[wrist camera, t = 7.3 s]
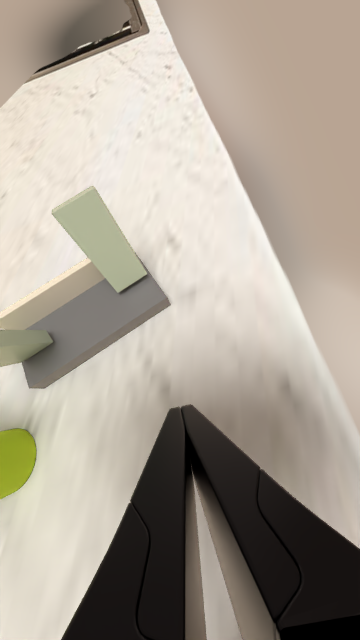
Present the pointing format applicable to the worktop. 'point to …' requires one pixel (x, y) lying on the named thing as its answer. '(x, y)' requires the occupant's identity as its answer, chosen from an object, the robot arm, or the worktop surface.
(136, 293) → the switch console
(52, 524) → the worktop surface
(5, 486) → the soap dispenser
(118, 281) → the flip switch
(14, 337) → the hold switch
